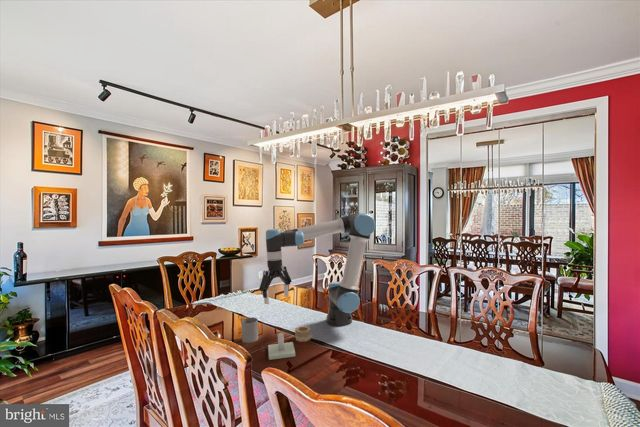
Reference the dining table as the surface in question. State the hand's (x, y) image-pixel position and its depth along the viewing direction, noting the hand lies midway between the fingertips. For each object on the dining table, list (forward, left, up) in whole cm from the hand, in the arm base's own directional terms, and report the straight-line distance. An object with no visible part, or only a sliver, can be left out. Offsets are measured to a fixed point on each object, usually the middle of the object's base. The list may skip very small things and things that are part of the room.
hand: (276, 300), depth 158 cm
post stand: (-1, +14, -20) cm, 25 cm away
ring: (-13, +3, -20) cm, 24 cm away
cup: (+14, -5, -21) cm, 26 cm away
